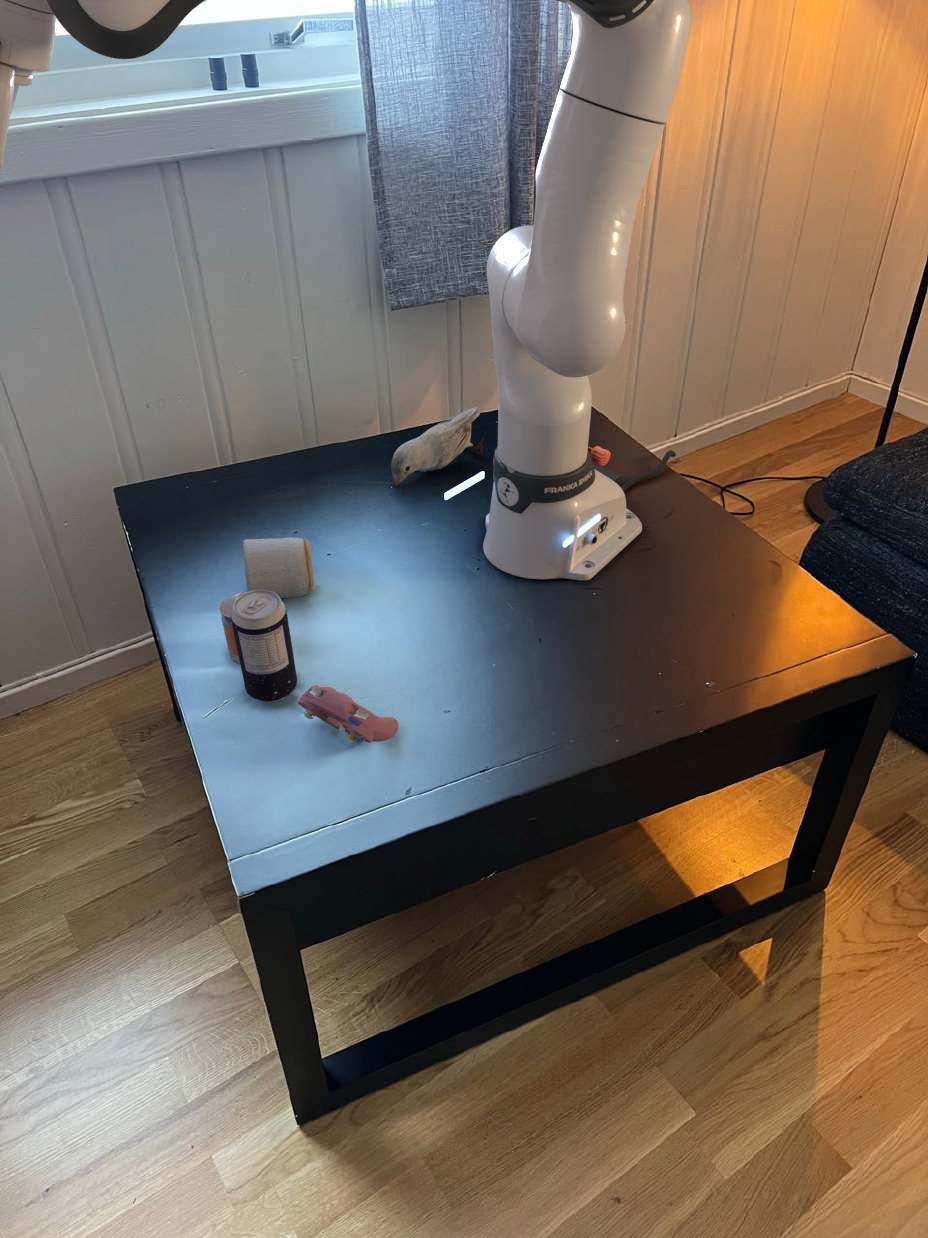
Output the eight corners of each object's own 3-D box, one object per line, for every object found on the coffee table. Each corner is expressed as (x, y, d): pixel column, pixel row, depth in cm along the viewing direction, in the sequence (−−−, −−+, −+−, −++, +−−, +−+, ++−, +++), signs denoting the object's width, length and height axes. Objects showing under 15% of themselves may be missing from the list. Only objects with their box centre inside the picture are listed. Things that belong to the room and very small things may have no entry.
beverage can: (308, 683, 103) (296, 597, 96) (275, 714, 100) (260, 627, 92) (269, 666, 106) (253, 581, 98) (235, 695, 102) (216, 609, 94)
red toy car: (310, 726, 100) (283, 701, 94) (333, 690, 102) (307, 663, 96) (383, 764, 96) (359, 740, 90) (405, 726, 97) (384, 700, 92)
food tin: (256, 634, 110) (247, 586, 106) (278, 653, 107) (270, 605, 103) (221, 651, 108) (211, 604, 103) (243, 672, 105) (233, 624, 101)
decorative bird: (383, 479, 138) (380, 433, 133) (466, 445, 146) (466, 400, 141) (405, 493, 135) (403, 447, 130) (489, 458, 143) (489, 412, 138)
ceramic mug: (318, 605, 114) (311, 553, 110) (250, 615, 113) (241, 562, 108) (309, 558, 122) (303, 507, 118) (246, 566, 121) (237, 515, 116)
